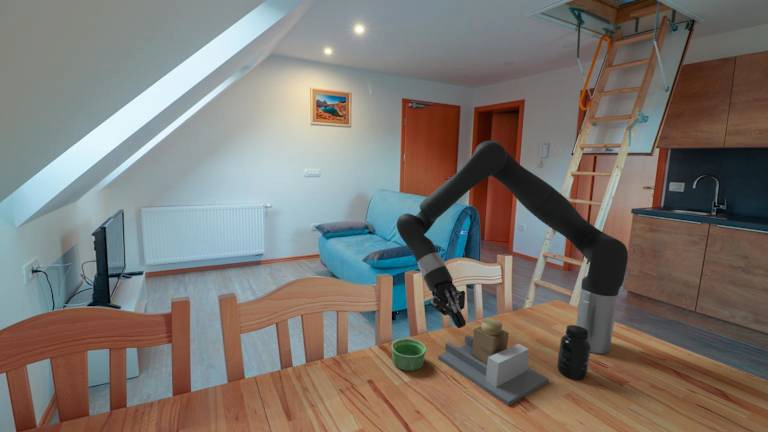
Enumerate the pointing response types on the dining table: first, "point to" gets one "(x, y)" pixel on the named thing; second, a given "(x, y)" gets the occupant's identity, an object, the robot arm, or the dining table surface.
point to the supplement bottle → (574, 353)
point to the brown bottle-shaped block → (489, 340)
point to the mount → (496, 370)
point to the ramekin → (408, 354)
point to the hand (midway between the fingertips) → (462, 326)
